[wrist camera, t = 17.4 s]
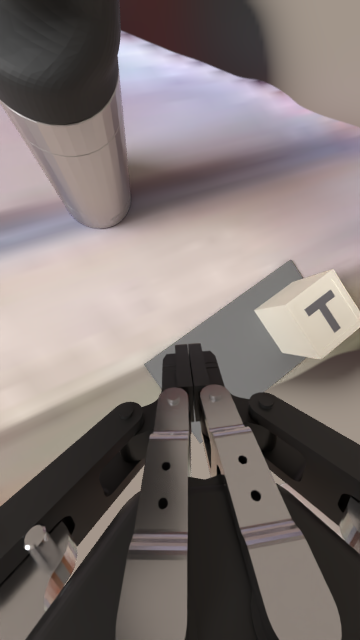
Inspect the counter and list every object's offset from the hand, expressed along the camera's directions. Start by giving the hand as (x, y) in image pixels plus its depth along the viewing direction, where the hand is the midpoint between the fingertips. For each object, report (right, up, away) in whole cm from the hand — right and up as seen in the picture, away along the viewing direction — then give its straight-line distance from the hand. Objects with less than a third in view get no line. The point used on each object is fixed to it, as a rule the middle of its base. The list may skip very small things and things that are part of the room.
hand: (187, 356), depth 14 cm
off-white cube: (+18, +3, +15) cm, 23 cm away
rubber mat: (+10, -2, +22) cm, 24 cm away
